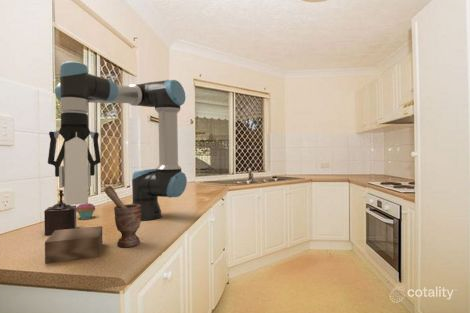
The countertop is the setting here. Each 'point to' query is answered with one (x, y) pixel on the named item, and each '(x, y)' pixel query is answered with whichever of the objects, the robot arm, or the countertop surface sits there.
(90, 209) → the cupcake
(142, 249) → the countertop surface
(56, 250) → the riser
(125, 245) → the mortar and pestle
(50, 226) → the coffee grinder
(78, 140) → the milk
